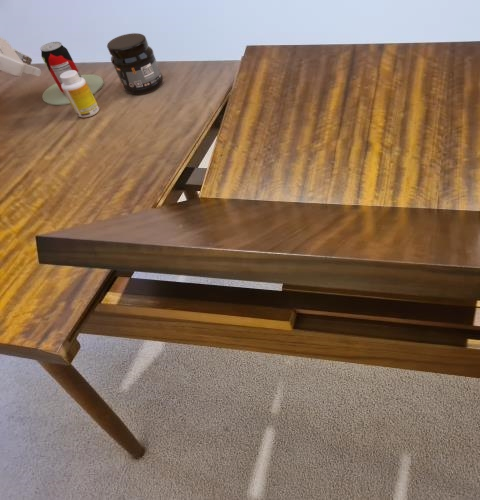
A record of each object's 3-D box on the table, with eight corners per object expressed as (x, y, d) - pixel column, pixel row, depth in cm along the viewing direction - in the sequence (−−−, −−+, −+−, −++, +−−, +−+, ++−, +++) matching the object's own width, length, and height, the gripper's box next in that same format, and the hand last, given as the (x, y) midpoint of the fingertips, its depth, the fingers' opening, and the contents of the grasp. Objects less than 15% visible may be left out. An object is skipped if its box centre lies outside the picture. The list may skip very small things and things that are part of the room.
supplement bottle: (104, 108, 116) (85, 69, 108) (89, 120, 112) (67, 80, 105) (88, 105, 118) (68, 67, 110) (72, 116, 114) (50, 78, 107)
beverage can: (89, 83, 125) (66, 39, 117) (83, 94, 121) (59, 49, 112) (66, 86, 125) (42, 42, 117) (59, 97, 121) (33, 53, 112)
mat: (30, 101, 122) (29, 99, 122) (72, 73, 132) (72, 71, 132) (74, 108, 117) (73, 107, 117) (115, 78, 127) (115, 77, 126)
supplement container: (132, 77, 126) (113, 33, 117) (169, 75, 125) (152, 30, 116) (119, 97, 119) (97, 51, 110) (157, 95, 118) (139, 48, 109)
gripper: (-20, 40, 99) (50, 68, 110) (-35, 17, 111) (29, 44, 122) (-28, 68, 101) (41, 92, 112) (-42, 41, 112) (22, 66, 123)
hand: (35, 67), depth 117 cm, fingers open, 8 cm apart
